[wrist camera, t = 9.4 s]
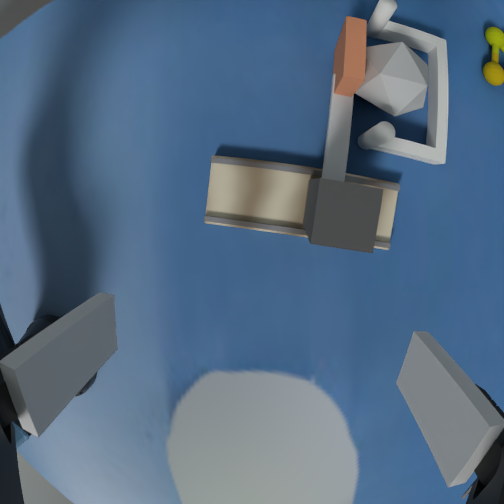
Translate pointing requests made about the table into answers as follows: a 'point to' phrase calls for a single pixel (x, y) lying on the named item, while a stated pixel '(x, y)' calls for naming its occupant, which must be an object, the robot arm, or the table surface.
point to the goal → (437, 122)
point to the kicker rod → (343, 159)
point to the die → (394, 78)
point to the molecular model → (494, 56)
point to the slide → (278, 196)
